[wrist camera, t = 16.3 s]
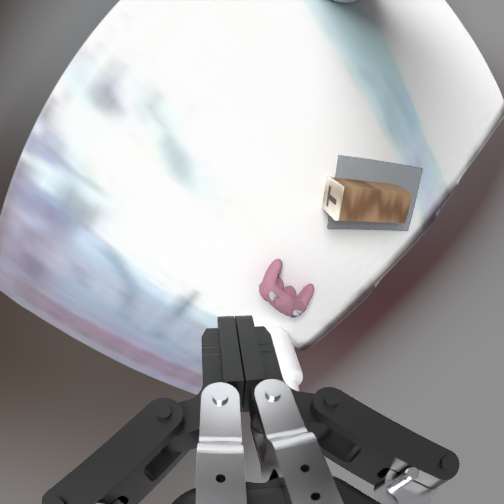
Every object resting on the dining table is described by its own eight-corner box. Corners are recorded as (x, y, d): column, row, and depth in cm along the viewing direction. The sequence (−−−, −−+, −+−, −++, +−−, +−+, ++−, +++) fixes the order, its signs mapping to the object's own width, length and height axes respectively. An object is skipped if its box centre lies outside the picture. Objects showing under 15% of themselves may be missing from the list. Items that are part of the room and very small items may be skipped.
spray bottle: (248, 338, 56) (264, 416, 40) (277, 320, 55) (302, 398, 39) (267, 354, 59) (286, 427, 43) (295, 338, 58) (320, 411, 42)
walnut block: (340, 186, 38) (412, 193, 40) (326, 177, 42) (395, 184, 44) (334, 220, 40) (405, 223, 42) (322, 208, 44) (389, 211, 46)
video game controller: (259, 265, 50) (252, 300, 45) (278, 254, 47) (272, 290, 43) (297, 293, 54) (293, 326, 50) (316, 284, 51) (314, 318, 47)
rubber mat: (327, 227, 47) (327, 228, 46) (338, 155, 41) (339, 155, 41) (407, 230, 49) (408, 230, 49) (421, 168, 43) (422, 168, 43)
